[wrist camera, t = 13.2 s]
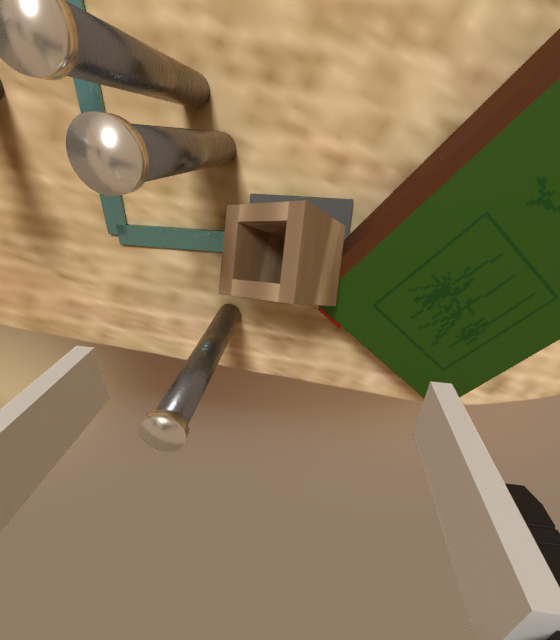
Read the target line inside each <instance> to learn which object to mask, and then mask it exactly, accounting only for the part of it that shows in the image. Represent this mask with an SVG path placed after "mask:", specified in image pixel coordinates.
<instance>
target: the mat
mask: <svg viewBox="0 0 560 640" xmlns="http://www.w3.org/2000/svg"><path fill="white" fill-rule="evenodd" d="M303 200H306V201H307V202H309V203H311V204H312V205H314V206H315V207H317V208H318V209H320V210H321V211H323V212H325V213H326V214H328V215H329V216H331V217H332V218H334V219H335V220H337V221H338V222H340V223H342V224H343V225H345V226H346V228H345V236H344V240H345V239H346V238H347V237H348V236H349V229H350V222H351V214H352V207H353V199H336V198H319V197H301V196H283V195H266V194H250V204H254V203H270V202H287V201H303Z"/></svg>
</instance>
